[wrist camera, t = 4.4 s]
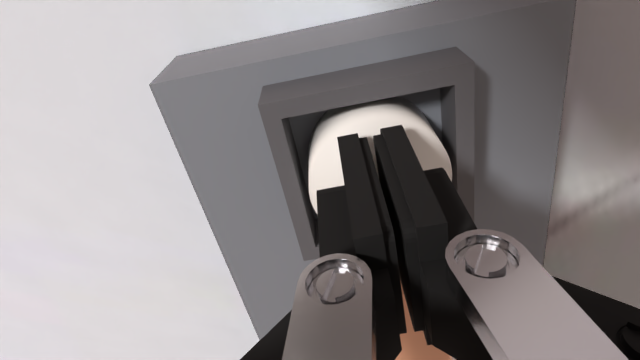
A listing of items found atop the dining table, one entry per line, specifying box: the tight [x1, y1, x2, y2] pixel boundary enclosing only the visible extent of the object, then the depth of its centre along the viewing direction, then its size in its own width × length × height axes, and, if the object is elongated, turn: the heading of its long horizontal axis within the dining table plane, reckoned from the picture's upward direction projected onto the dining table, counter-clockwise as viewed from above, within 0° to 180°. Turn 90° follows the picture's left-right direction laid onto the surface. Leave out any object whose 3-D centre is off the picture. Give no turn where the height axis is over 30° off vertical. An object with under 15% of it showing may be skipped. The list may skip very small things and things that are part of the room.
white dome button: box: [308, 96, 452, 213], centre depth 12 cm, size 4×4×2 cm
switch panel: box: [149, 0, 576, 340], centre depth 19 cm, size 28×12×4 cm, turn 11°
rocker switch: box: [395, 280, 450, 360], centre depth 15 cm, size 5×4×1 cm
